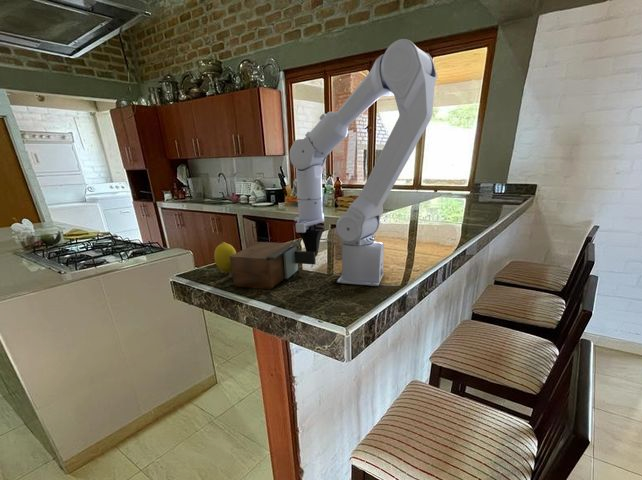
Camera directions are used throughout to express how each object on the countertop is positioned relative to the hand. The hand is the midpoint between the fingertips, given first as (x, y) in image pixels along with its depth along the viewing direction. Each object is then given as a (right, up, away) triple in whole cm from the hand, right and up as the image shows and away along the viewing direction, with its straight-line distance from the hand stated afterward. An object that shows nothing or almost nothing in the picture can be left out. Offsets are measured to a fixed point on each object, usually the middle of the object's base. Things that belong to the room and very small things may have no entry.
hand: (312, 256), depth 83 cm
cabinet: (-11, -6, -2) cm, 13 cm away
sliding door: (-3, -5, -1) cm, 6 cm away
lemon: (-22, -4, +2) cm, 22 cm away
